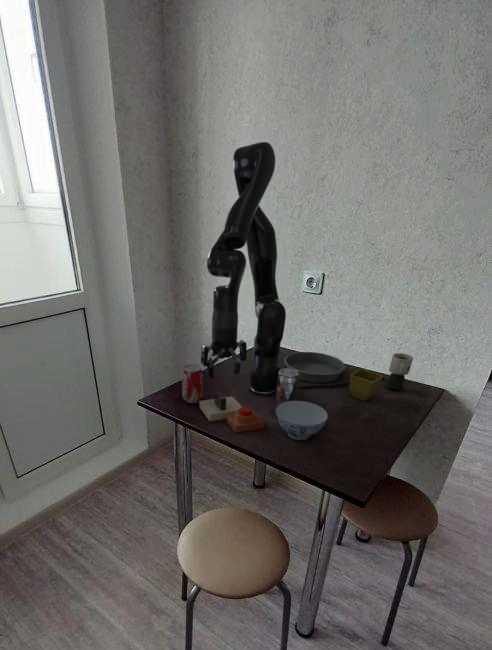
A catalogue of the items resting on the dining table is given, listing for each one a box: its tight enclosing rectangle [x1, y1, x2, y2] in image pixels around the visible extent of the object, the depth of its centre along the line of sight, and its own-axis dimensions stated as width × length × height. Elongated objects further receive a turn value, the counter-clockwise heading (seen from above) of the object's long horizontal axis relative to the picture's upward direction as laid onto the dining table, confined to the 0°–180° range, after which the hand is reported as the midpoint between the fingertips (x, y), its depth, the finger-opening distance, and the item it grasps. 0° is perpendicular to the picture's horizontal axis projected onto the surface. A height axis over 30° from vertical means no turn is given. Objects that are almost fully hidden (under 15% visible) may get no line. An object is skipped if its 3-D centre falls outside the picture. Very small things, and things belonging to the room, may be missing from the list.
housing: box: [225, 409, 266, 433], centre depth 126 cm, size 10×8×4 cm
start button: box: [240, 405, 253, 416], centre depth 125 cm, size 4×4×2 cm
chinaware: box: [276, 400, 328, 441], centre depth 121 cm, size 15×15×8 cm
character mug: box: [385, 352, 414, 391], centre depth 152 cm, size 11×7×13 cm, turn 165°
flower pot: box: [348, 368, 384, 402], centre depth 145 cm, size 9×9×9 cm
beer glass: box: [273, 367, 300, 417], centre depth 130 cm, size 7×7×15 cm
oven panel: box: [199, 396, 243, 422], centre depth 133 cm, size 12×11×3 cm
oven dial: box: [214, 391, 226, 411], centre depth 130 cm, size 6×2×4 cm, turn 22°
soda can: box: [181, 364, 204, 404], centre depth 137 cm, size 7×7×12 cm
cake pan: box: [283, 351, 346, 384], centre depth 165 cm, size 25×25×4 cm
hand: (223, 375), depth 125 cm, fingers open, 8 cm apart
